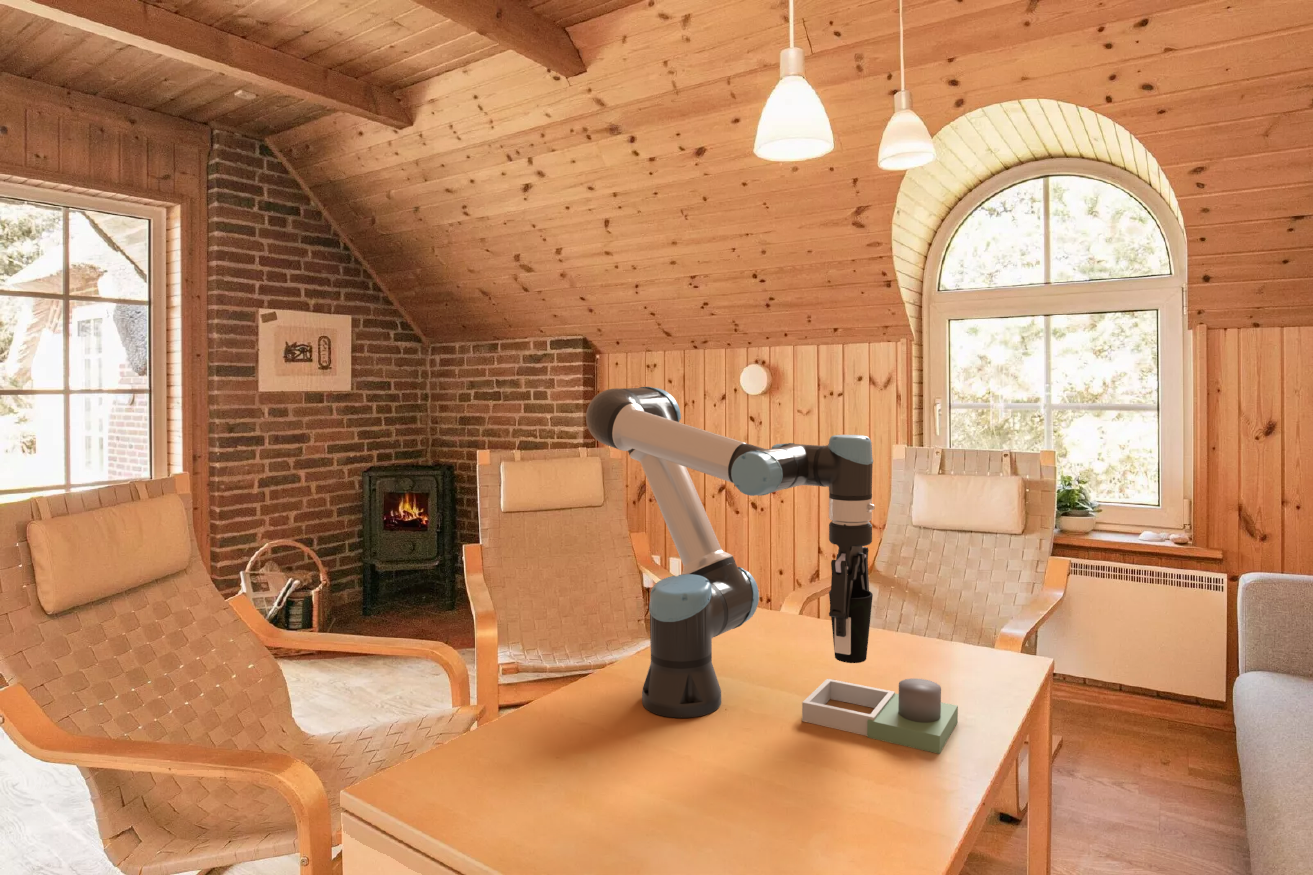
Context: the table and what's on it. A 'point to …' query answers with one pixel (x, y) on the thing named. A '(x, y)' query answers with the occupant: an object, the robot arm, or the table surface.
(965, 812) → the table surface
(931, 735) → the multicoloured boxy piece
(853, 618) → the cup
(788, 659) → the table surface
